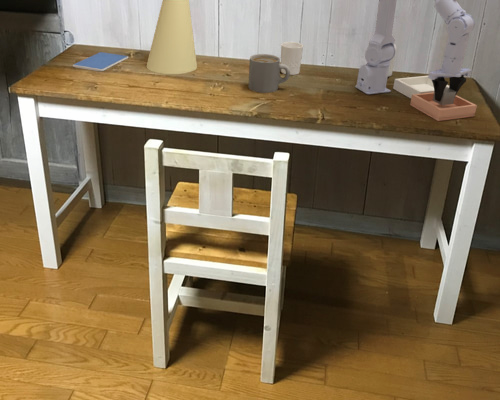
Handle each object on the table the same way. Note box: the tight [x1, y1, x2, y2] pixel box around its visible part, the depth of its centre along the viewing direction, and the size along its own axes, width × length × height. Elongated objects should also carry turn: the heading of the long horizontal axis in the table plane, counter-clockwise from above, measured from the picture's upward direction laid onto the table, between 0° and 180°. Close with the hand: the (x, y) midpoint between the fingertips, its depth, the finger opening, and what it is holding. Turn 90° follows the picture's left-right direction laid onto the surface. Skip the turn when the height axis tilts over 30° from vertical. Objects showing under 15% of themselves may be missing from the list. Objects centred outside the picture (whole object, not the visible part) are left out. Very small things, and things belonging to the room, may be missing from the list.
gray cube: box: [433, 87, 457, 105], centre depth 176 cm, size 4×4×4 cm
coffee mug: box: [248, 53, 291, 94], centre depth 187 cm, size 13×10×10 cm
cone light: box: [146, 0, 198, 75], centre depth 200 cm, size 25×18×35 cm
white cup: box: [280, 41, 304, 76], centre depth 203 cm, size 8×8×10 cm
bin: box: [409, 92, 478, 122], centre depth 178 cm, size 14×14×4 cm
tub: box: [392, 75, 449, 99], centre depth 191 cm, size 14×14×4 cm
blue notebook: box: [72, 51, 129, 72], centre depth 207 cm, size 19×13×1 cm, turn 162°
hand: (444, 99), depth 177 cm, fingers closed on gray cube, 4 cm apart
